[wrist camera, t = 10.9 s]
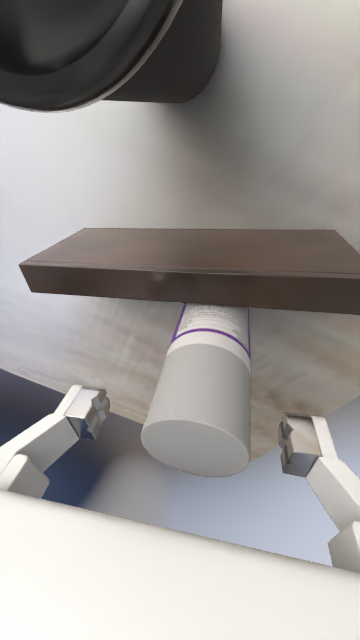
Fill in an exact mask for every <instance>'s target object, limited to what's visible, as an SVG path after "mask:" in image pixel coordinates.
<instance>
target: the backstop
mask: <svg viewBox="0 0 360 640" xmlns="http://www.w3.org/2000/svg"><path fill="white" fill-rule="evenodd" d="M19 267H20V269H21V271H22V273H23V275H24V278H25V280H26V282H27V284H28V286H29V288H30V290H31V292H36V293H51V294H65V295H80V296H94V297H108V298H123V299H137V300H152V301H166V302H181V303H195V304H209V305H224V306H238V307H253V308H267V309H282V310H296V311H310V312H325V313H339V314H354V315H360V254H359V253H358V252H357V251H356V250H355V249H354V248H353V247H352V246H350V245H349V244H348V243H347V242H346V241H345V240H344V239H343V238H342V237H341V236H340V235H339V234H338V233H337V232H336V231H335V230H250V229H124V228H84V229H82V230H81V231H79V232H77V233H75V234H73V235H71V236H70V237H68V238H66V239H64V240H62V241H60V242H59V243H57V244H55V245H53V246H51V247H49V248H48V249H46V250H44V251H42V252H40V253H38V254H37V255H35V256H33V257H31V258H29V259H27V260H26V261H24V262H22V263H20V264H19Z"/></svg>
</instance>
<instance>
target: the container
mask: <svg viewBox="0 0 360 640" xmlns="http://www.w3.org/2000/svg"><path fill="white" fill-rule="evenodd" d="M250 377H251V362H250V333H249V307H238V306H224V305H209V304H195V303H185V305H184V307H183V310H182V313H181V316H180V318H179V321H178V324H177V327H176V329H175V332H174V335H173V337H172V340H171V343H170V346H169V348H168V352H167V355H166V358H165V361H164V364H163V367H162V371H161V374H160V377H159V380H158V383H157V386H156V389H155V392H154V395H153V399H152V402H151V405H150V408H149V411H148V414H147V417H146V420H145V423H144V427H143V430H142V433H141V441H142V444H143V446H144V447H145V449H146V450H147V451H148V452H149V453H150V454H151V455H152V456H153V457H154V458H155V459H157V460H158V461H160V462H162V463H164V464H165V465H167V466H169V467H171V468H174V469H176V470H179V471H182V472H185V473H189V474H193V475H197V476H204V477H226V476H231V475H235V474H238V473H240V472H241V471H243V470H244V469H245V468H247V466H248V465H249V462H250Z"/></svg>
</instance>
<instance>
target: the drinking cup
mask: <svg viewBox="0 0 360 640" xmlns="http://www.w3.org/2000/svg"><path fill="white" fill-rule="evenodd" d="M221 19H222V0H0V104H3V105H6V106H9V107H12V108H16V109H21V110H27V111H32V112H44V113H59V112H68V111H73V110H76V109H80V108H84V107H87V106H89V105H91V104H93V103H96V102H98V101H100V100H112V101H135V102H158V103H183V102H186V101H189V100H191V99H193V98H194V97H196V96H197V95H198V94H199V93H200V92H201V91H202V90H203V89H204V88H205V86H206V85H207V83H208V82H209V80H210V78H211V76H212V74H213V72H214V70H215V67H216V64H217V60H218V55H219V49H220V38H221Z"/></svg>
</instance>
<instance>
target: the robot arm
mask: <svg viewBox="0 0 360 640" xmlns="http://www.w3.org/2000/svg"><path fill="white" fill-rule="evenodd" d="M105 395H106V390H105V389H103V388H96V387H89V386H83V385H73V386H72V387H71V388H70V390H69V391H68V393H67V394H66V396H65V397H64V399H63V400H62V402H61V403H60V405H59V406H58V408H57V409H56V411H55V412H54V414H49V415H48V416H46V417H45V418H43V419H42V420H40V421H39V422H37V423H36V424H34V425H33V426H31V427H30V428H29V429H27V430H25V431H24V432H22V433H21V434H19V435H18V436H16V437H15V438H13V439H12V440H11V441H9V442H7V443H6V444H4V445H3V446H1V447H0V640H360V479H359V478H358V477H357V475H356V474H355V473H354V472H353V471H352V470H351V469H350V468H349V467H348V465H346V463H345V462H344V461H342V460H339V459H338V456H337V453H336V449H335V446H334V444H333V440H332V438H331V434H330V431H329V428H328V425H327V422H326V420H325V418H324V417H319V416H310V415H305V414H296V413H287V412H284V413H283V415H282V420H283V421H282V422H280V424H279V427H278V441H279V446H280V447H281V448H282V449H283V451H282V453H281V463H282V469H283V473H286V474H291V475H296V476H301V477H306V478H305V479H306V481H307V482H308V484H309V485H310V487H311V488H312V490H313V491H314V493H315V495H316V496H317V497H318V499H319V501H320V502H321V504H322V505H323V507H324V508H325V510H326V511H327V513H328V514H329V516H330V517H331V519H332V521H333V522H334V524H335V525H336V527H337V528H338V530H339V531H340V533H339V534H337V535H336V536H335V537H334V538H333V539H331V540H330V542H329V543H328V546H329V551H330V555H331V560H332V564H333V567H332V566H327V565H323V564H319V563H314V562H310V561H306V560H301V559H297V558H293V557H288V556H284V555H280V554H276V553H271V552H267V551H263V550H258V549H254V548H250V547H246V546H241V545H237V544H233V543H228V542H224V541H220V540H216V539H211V538H207V537H203V536H199V535H194V534H190V533H186V532H181V531H176V530H172V529H169V528H164V527H159V526H156V525H151V524H147V523H143V522H139V521H134V520H130V519H126V518H121V517H117V516H112V515H108V514H104V513H100V512H96V511H91V510H87V509H82V508H78V507H74V506H70V505H66V504H61V503H57V502H53V501H48V500H44V499H41V497H42V496H43V494H44V492H45V490H46V488H47V486H48V484H49V479H48V478H47V477H46V476H45V475H44V474H43V472H44V471H45V470H46V469H47V468H48V467H49V466H50V465H51V464H52V463H53V462H55V461H56V460H57V459H58V458H59V457H60V456H61V455H62V454H63V453H64V452H66V450H68V449H69V448H70V447H71V446H72V445H73V444H74V443H75V442H76V441H78V440H79V438H84V439H91V440H96V439H97V437H98V434H99V432H100V430H101V428H102V423H101V422H102V421H103V420H104V419H105V418H106V417H107V415H108V413H109V409H110V401H109V398H107V397H106V396H105Z"/></svg>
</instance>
